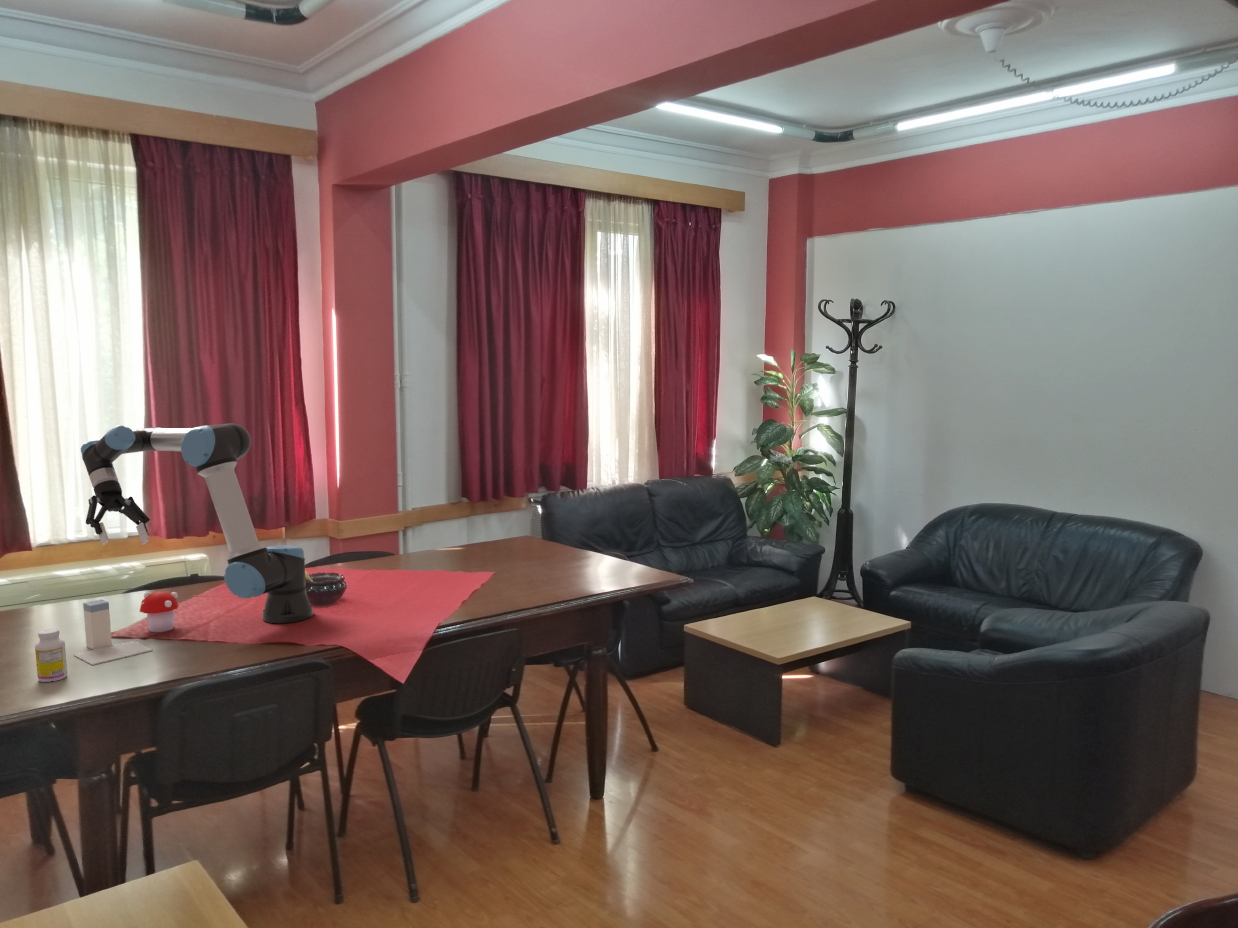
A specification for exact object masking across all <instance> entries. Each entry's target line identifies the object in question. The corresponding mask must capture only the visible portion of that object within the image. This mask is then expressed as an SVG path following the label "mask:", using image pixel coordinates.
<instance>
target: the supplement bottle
mask: <svg viewBox="0 0 1238 928" xmlns="http://www.w3.org/2000/svg"><path fill="white" fill-rule="evenodd" d="M60 634H61V633H60V629H59V628H46V629H41V630H39V631H38V634H37V635H38V638H39V640H38V641H37V642H36V643H35V645H34V652H35V661H36V673H37V680H38V681H39V682H41V683H52V682H51V681H54V682H58V681H61V680H64V679H65V678H66V677H67V676H68V665H67V654H66V652H67V651H66V642H65V640H64V639H63V638H61V637H60ZM57 680H58V681H57Z"/></svg>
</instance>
